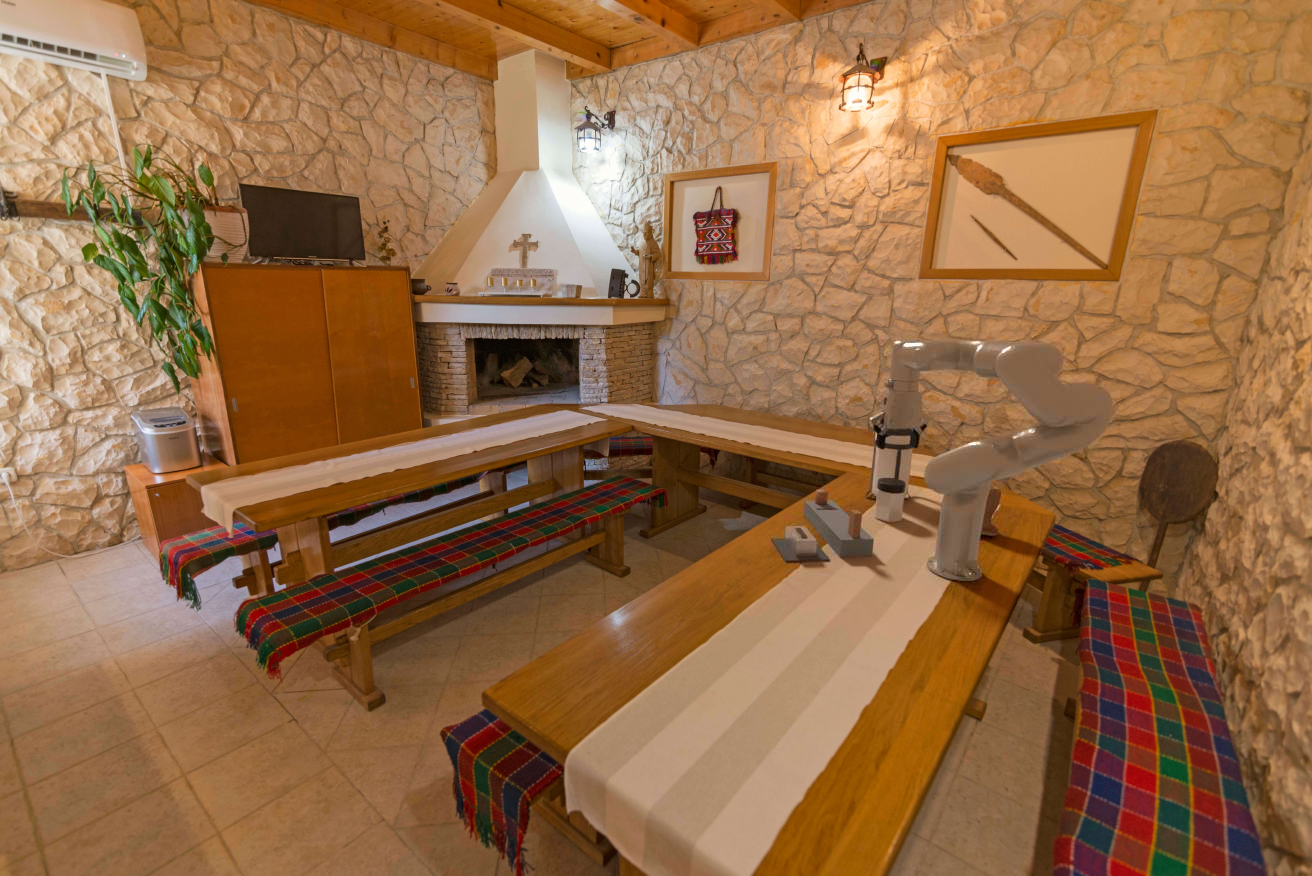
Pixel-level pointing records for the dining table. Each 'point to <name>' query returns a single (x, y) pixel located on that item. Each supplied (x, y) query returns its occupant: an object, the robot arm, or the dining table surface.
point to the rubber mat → (790, 557)
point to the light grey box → (800, 541)
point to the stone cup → (991, 511)
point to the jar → (889, 499)
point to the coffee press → (892, 459)
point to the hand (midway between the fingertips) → (897, 447)
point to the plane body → (838, 526)
